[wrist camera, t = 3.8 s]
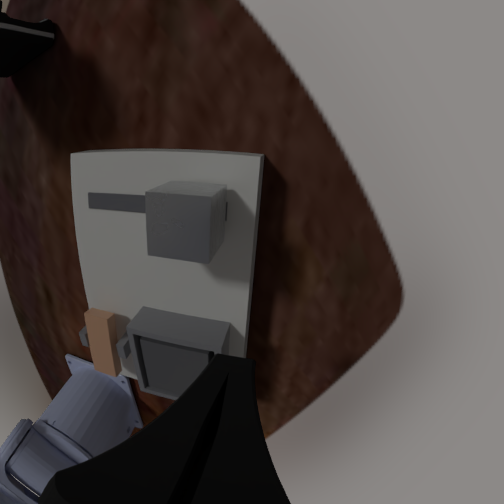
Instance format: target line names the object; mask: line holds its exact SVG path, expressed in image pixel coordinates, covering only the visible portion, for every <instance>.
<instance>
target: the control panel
mask: <svg viewBox="0 0 504 504" xmlns="http://www.w3.org/2000/svg"><path fill="white" fill-rule="evenodd" d="M263 166H264V154H255V153H243V152H229V151H213V150H190V149H107V150H88V151H82V152H77V153H71V182H72V198H73V210H74V220H75V229H76V237H77V245H78V252H79V258H80V264H81V270H82V276H83V281H84V286H85V291H86V296H87V301H88V305H89V309H91V308H96V309H100V310H103V311H107V312H111V313H114V314H115V324H116V332H117V340H118V342H117V344H116V347H117V351H118V355H119V357H120V360H121V367H122V371H121V372H120V373H119V374H121V375H124V376H127V377H131V378H134V379H137V380H138V383H139V386H140V390H141V391H144V392H147V393H151V394H154V395H158V396H162V397H165V398H169V399H173V400H177V399H178V398H179V397H180V396H181V395H182V394H180V393H176V392H172V391H168V390H164V389H160V388H156V387H153V386H149V382H148V378H147V373H146V368H145V364H144V359H143V354H142V348H141V343H140V338H141V337H142V336H143V337H147V338H152V339H156V340H160V341H164V342H169V343H173V344H178V345H183V346H187V347H192V348H197V349H202V350H208V351H213V352H214V355H215V354H217V353H219V354H224V355H230V356H236V357H242V358H246V352H247V342H248V331H249V320H250V310H251V299H252V288H253V277H254V266H255V255H256V244H257V233H258V222H259V211H260V200H261V188H262V177H263ZM171 180H172V181H188V182H202V183H215V184H227V196H226V214H225V233H224V242H223V243H222V245H221V246H220V248H219V249H218V251H217V252H216V254H215V256H214V257H213V259H212V260H211V262H210V263H209V264H204V263H197V262H190V261H183V260H176V259H169V258H162V257H155V256H148V253H147V235H146V208H145V192H146V191H148V190H150V189H153V188H155V187H157V186H160V185H162V184H164V183H167V182H169V181H171ZM79 335H80V338H81V342H82V345H84V346H87V347H89V346H90V344H89V339H88V333H87V327H86V326H85V327H84V328H83V329H82V330H81V331H80V332H79Z"/></svg>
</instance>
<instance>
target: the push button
mask: <svg viewBox="0 0 504 504" xmlns="http://www.w3.org/2000/svg"><path fill="white" fill-rule="evenodd" d="M140 343H141V348H142V354H143V359H144V364H145V368H146V373H147V378H148V382H149V386H153V387H156V388H160V389H164V390H168V391H172V392H176V393H180V394H183V393H184V392H185V391H186V389H187V388H188V387H189V386H190V385H191V384H192V383H193V382H194V381H195V380H196V378H197V377H198V376H199V375H200V374H201V372H202V371H203V370H204V369H205V367H206V366H207V365H208V363H209V362H210V361H211V359H212V358H213V356H214V352H213V351H208V350H202V349H197V348H192V347H187V346H183V345H178V344H173V343H169V342H164V341H160V340H156V339H152V338H147V337H143V336H142V337H141V338H140Z"/></svg>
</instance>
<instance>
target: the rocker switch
mask: <svg viewBox="0 0 504 504" xmlns="http://www.w3.org/2000/svg"><path fill="white" fill-rule="evenodd" d="M84 315H85V321H86V327H87V333H88V339H89V344H90V350H91V355H92V359H93V364H94V369H95V370H96V371H99V372H102V373H105V374H108V375H110V376H113V377H117V376H118V375H119V373H120V372H121V371H122V367H121V360H120V357H119V355H118V351H117V347H116V344H117V342H118V340H117V332H116V324H115V314H114V313H111V312H107V311H103V310H100V309H96V308H91V309H89V310H88V311H86V312H85V313H84Z"/></svg>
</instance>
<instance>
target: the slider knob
mask: <svg viewBox="0 0 504 504" xmlns="http://www.w3.org/2000/svg"><path fill="white" fill-rule="evenodd" d="M226 196H227V184H215V183H202V182H188V181H172V180H171V181H169V182H167V183H164V184H162V185H160V186H157V187H155V188H153V189H150V190H148V191H146V192H145V208H146V235H147V253H148V256H155V257H162V258H169V259H176V260H183V261H190V262H197V263H204V264H209V263H210V262H211V260H212V259H213V257H214V256H215V254H216V252H217V251H218V249H219V248H220V246H221V245H222V243H223V242H224V233H225V214H226Z"/></svg>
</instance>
